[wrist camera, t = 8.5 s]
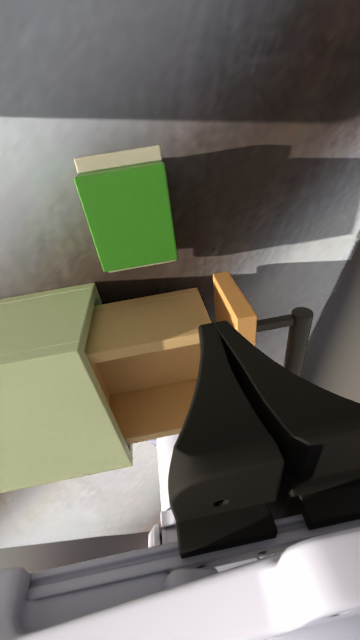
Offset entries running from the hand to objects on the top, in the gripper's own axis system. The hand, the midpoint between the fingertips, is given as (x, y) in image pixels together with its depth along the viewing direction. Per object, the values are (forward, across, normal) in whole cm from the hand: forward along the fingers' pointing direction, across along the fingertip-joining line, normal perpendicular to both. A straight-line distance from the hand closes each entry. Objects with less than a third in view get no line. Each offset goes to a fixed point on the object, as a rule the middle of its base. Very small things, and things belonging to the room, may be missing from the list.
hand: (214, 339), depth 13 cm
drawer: (+9, +1, +7) cm, 11 cm away
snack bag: (+9, +3, -4) cm, 11 cm away
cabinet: (+9, +14, +7) cm, 18 cm away
